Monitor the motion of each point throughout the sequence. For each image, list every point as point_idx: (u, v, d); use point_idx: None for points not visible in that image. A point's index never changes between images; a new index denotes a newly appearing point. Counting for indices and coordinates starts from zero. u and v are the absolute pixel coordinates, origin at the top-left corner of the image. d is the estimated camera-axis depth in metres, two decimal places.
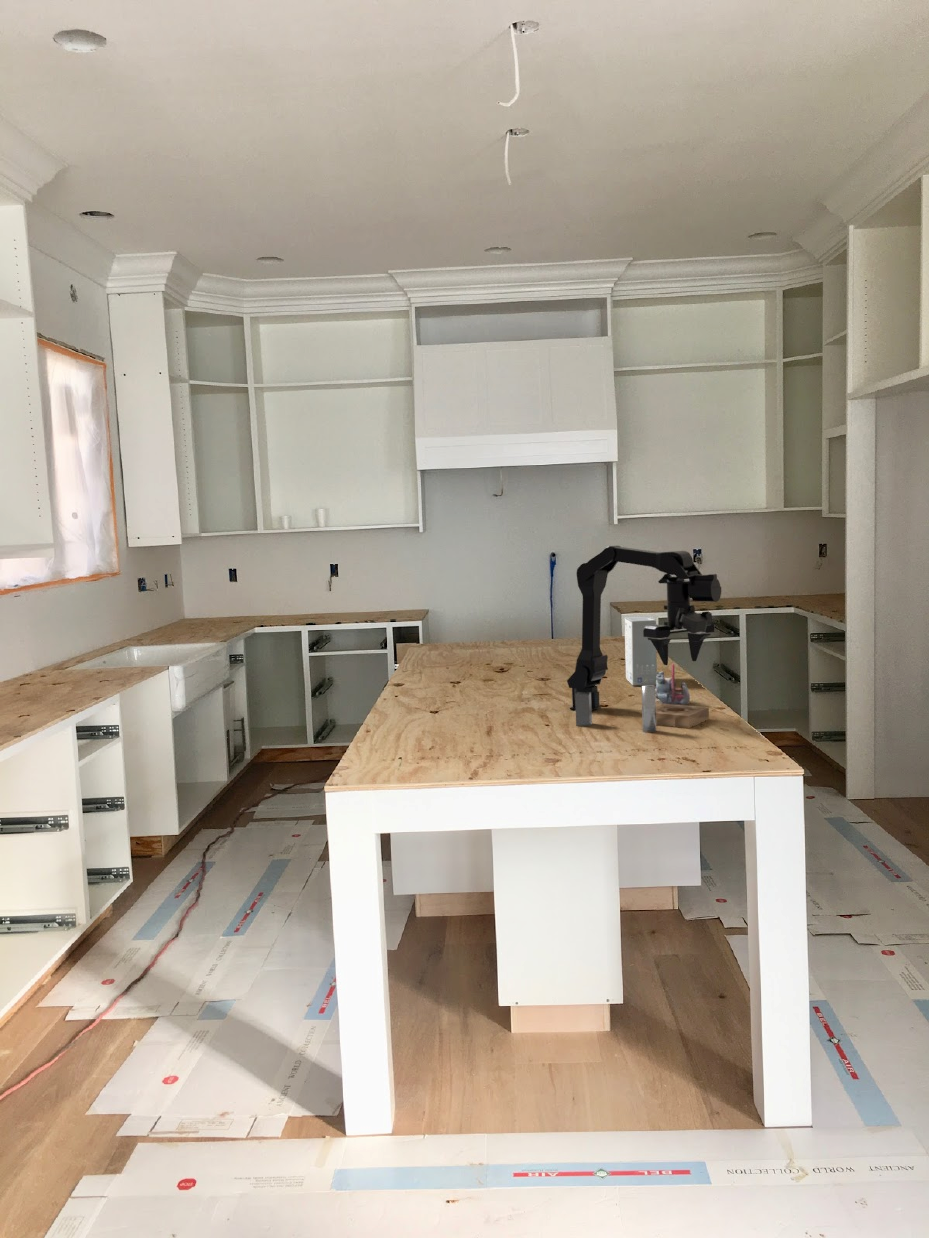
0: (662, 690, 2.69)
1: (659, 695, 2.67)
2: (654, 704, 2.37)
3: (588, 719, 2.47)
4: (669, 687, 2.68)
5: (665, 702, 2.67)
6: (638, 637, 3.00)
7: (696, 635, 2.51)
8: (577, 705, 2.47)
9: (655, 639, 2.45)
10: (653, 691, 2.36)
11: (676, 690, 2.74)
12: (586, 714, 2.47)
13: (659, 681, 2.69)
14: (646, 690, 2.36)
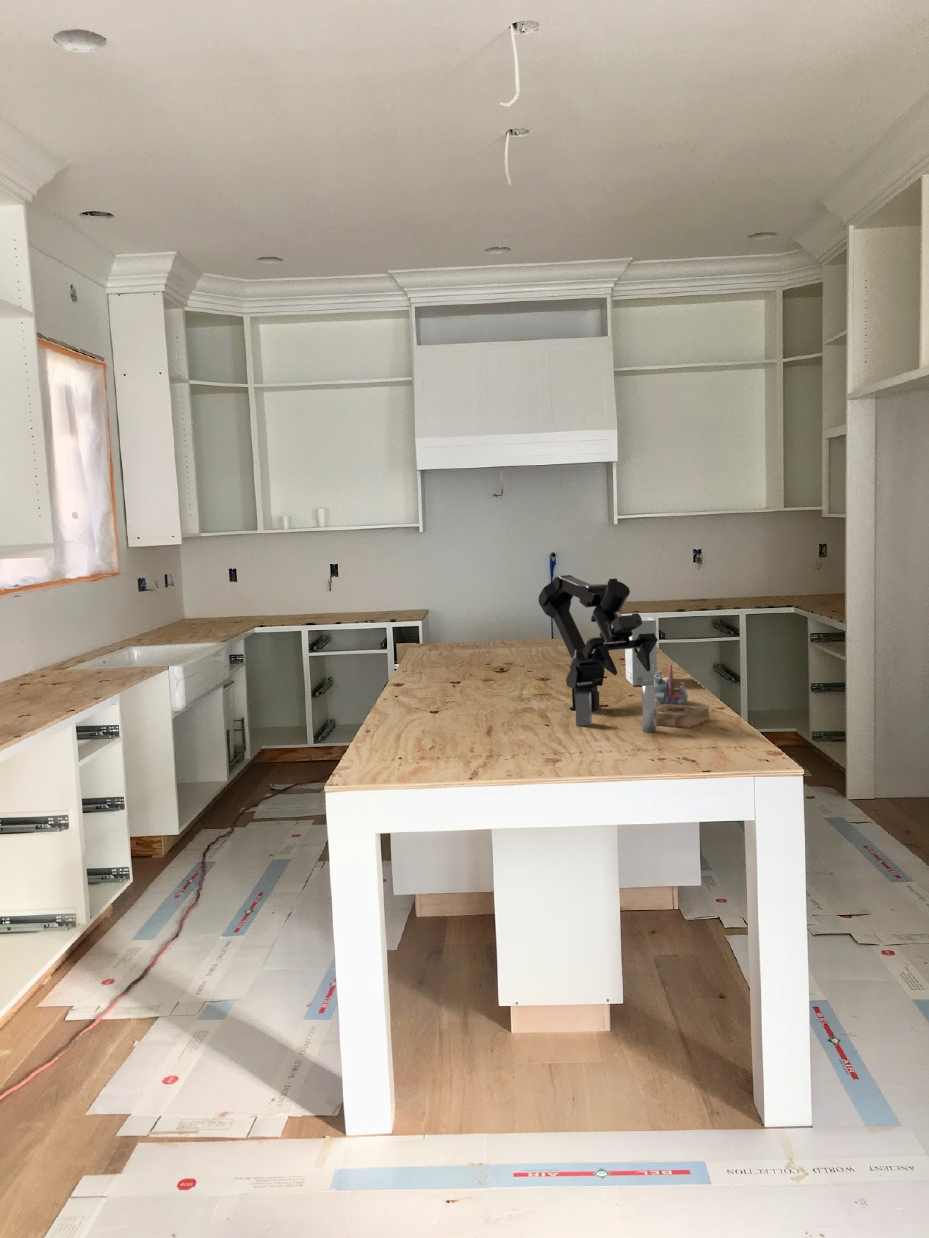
0: (659, 689, 2.70)
1: (656, 695, 2.68)
2: (654, 704, 2.37)
3: (588, 719, 2.47)
4: (666, 687, 2.69)
5: (662, 702, 2.68)
6: None
7: (641, 648, 2.49)
8: (577, 705, 2.47)
9: (594, 652, 2.45)
10: (653, 691, 2.36)
11: (674, 690, 2.75)
12: (586, 714, 2.47)
13: (656, 681, 2.69)
14: (646, 690, 2.36)
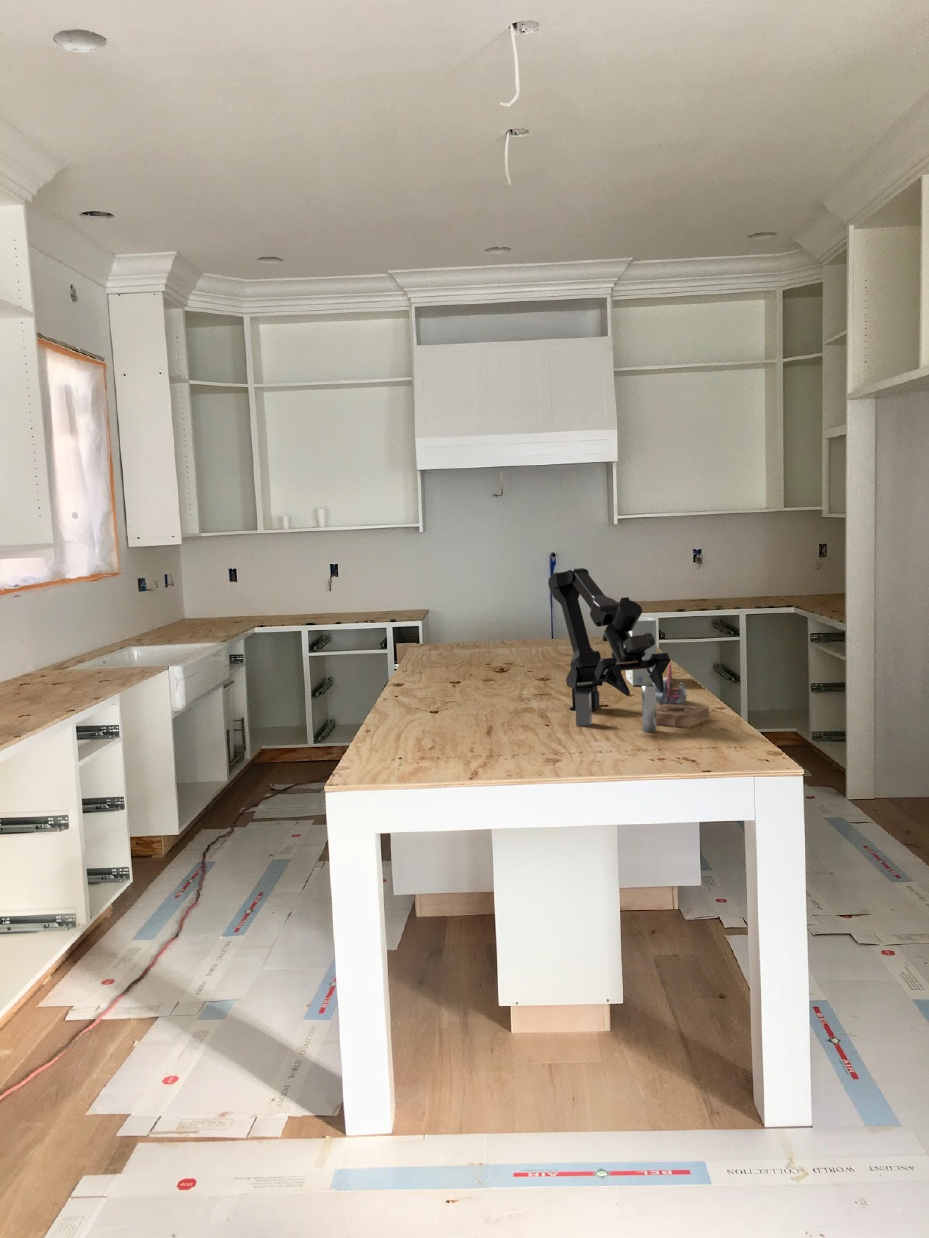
0: None
1: (655, 695, 2.68)
2: (654, 704, 2.37)
3: (588, 719, 2.47)
4: (665, 687, 2.69)
5: (661, 702, 2.68)
6: None
7: (654, 668, 2.44)
8: (577, 705, 2.47)
9: (606, 673, 2.40)
10: (653, 691, 2.36)
11: (674, 690, 2.75)
12: (586, 714, 2.47)
13: None
14: (646, 690, 2.36)
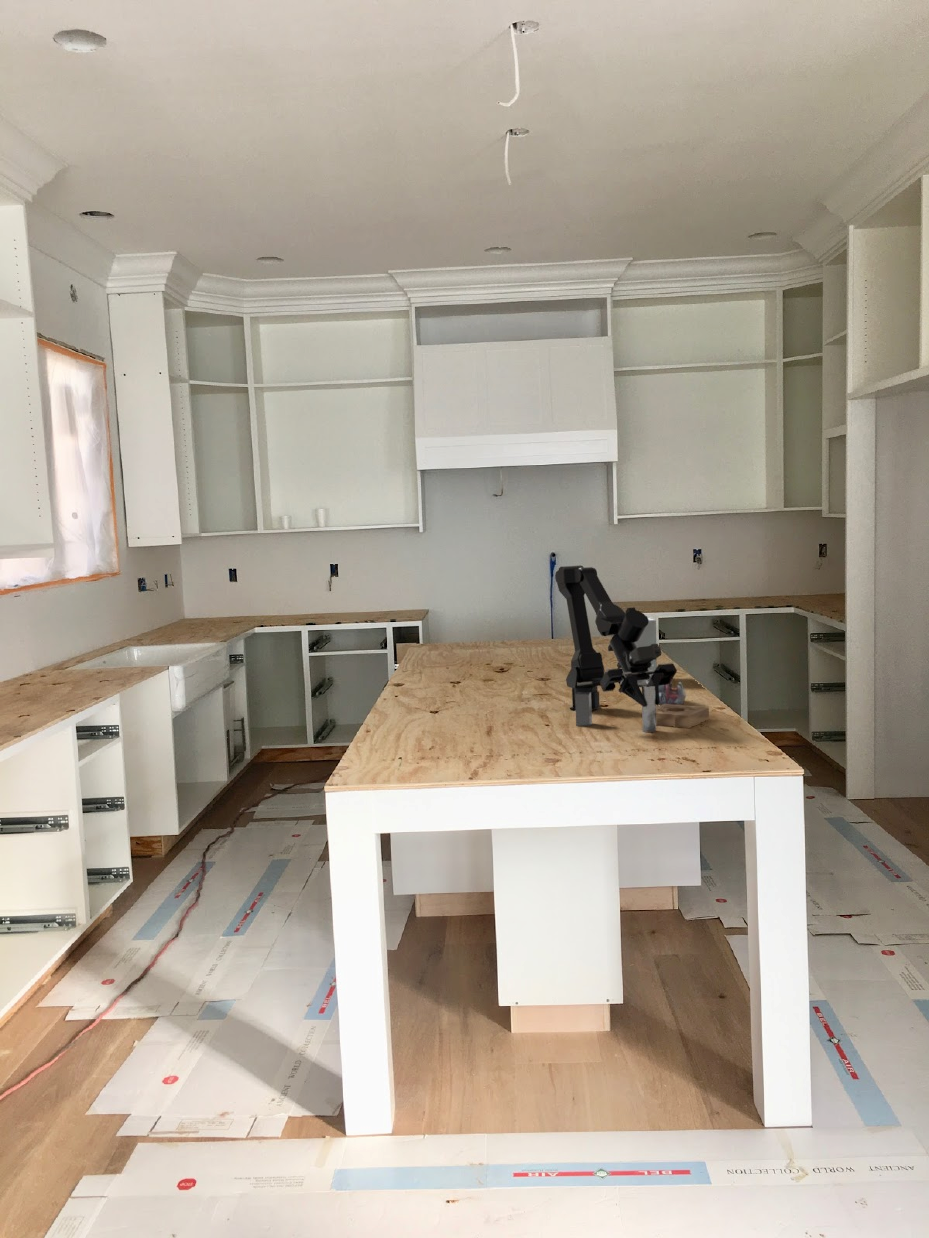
0: None
1: None
2: (654, 704, 2.37)
3: (588, 719, 2.47)
4: (664, 687, 2.69)
5: None
6: None
7: (650, 681, 2.41)
8: (577, 705, 2.47)
9: (622, 683, 2.38)
10: (653, 691, 2.36)
11: (673, 690, 2.75)
12: (586, 714, 2.47)
13: None
14: (646, 690, 2.36)
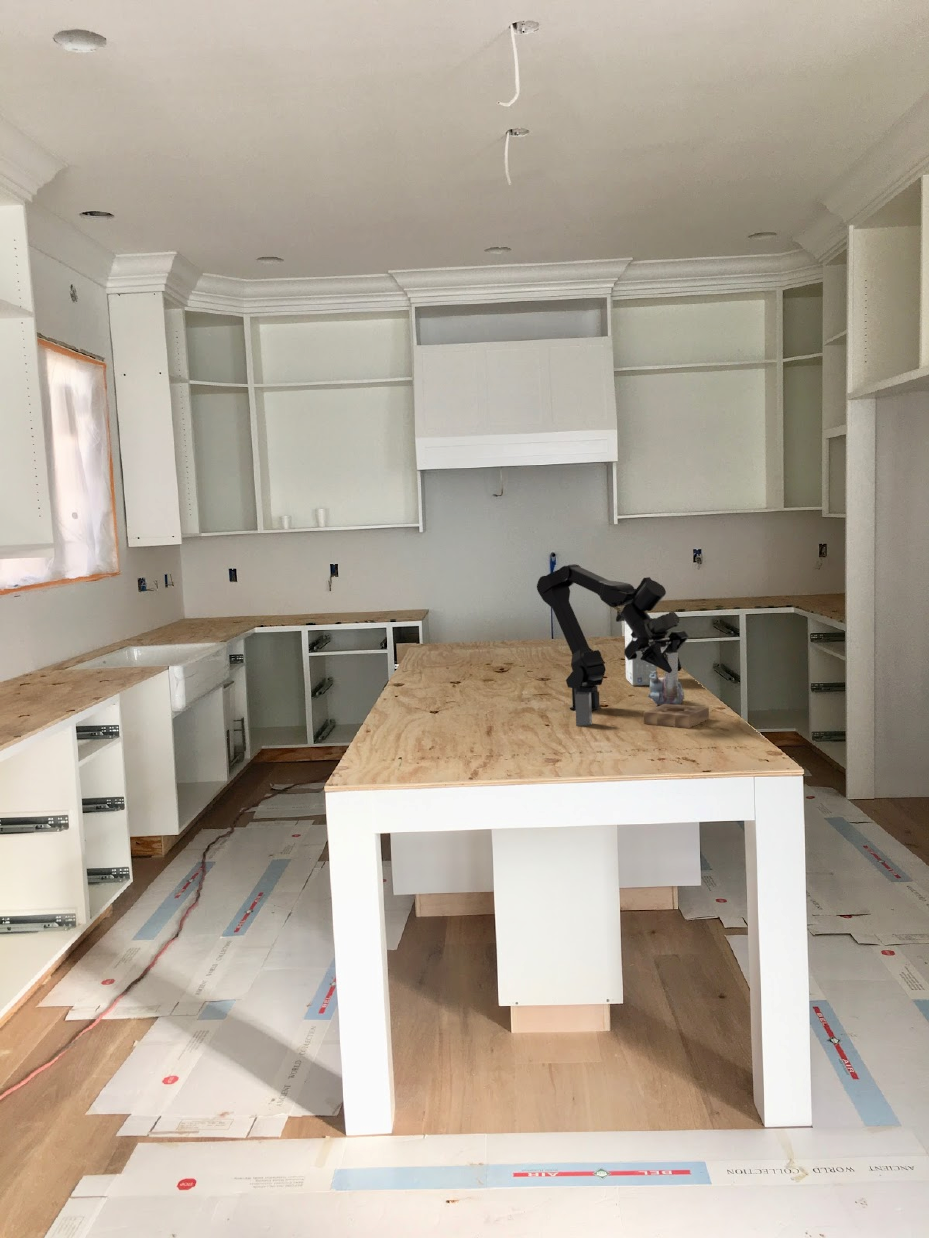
0: (655, 689, 2.70)
1: (651, 694, 2.69)
2: (677, 670, 2.44)
3: (588, 719, 2.47)
4: (662, 686, 2.70)
5: (657, 701, 2.69)
6: None
7: (667, 648, 2.48)
8: (577, 705, 2.47)
9: (647, 651, 2.43)
10: (677, 657, 2.43)
11: None
12: (586, 714, 2.47)
13: (652, 680, 2.70)
14: (670, 657, 2.43)
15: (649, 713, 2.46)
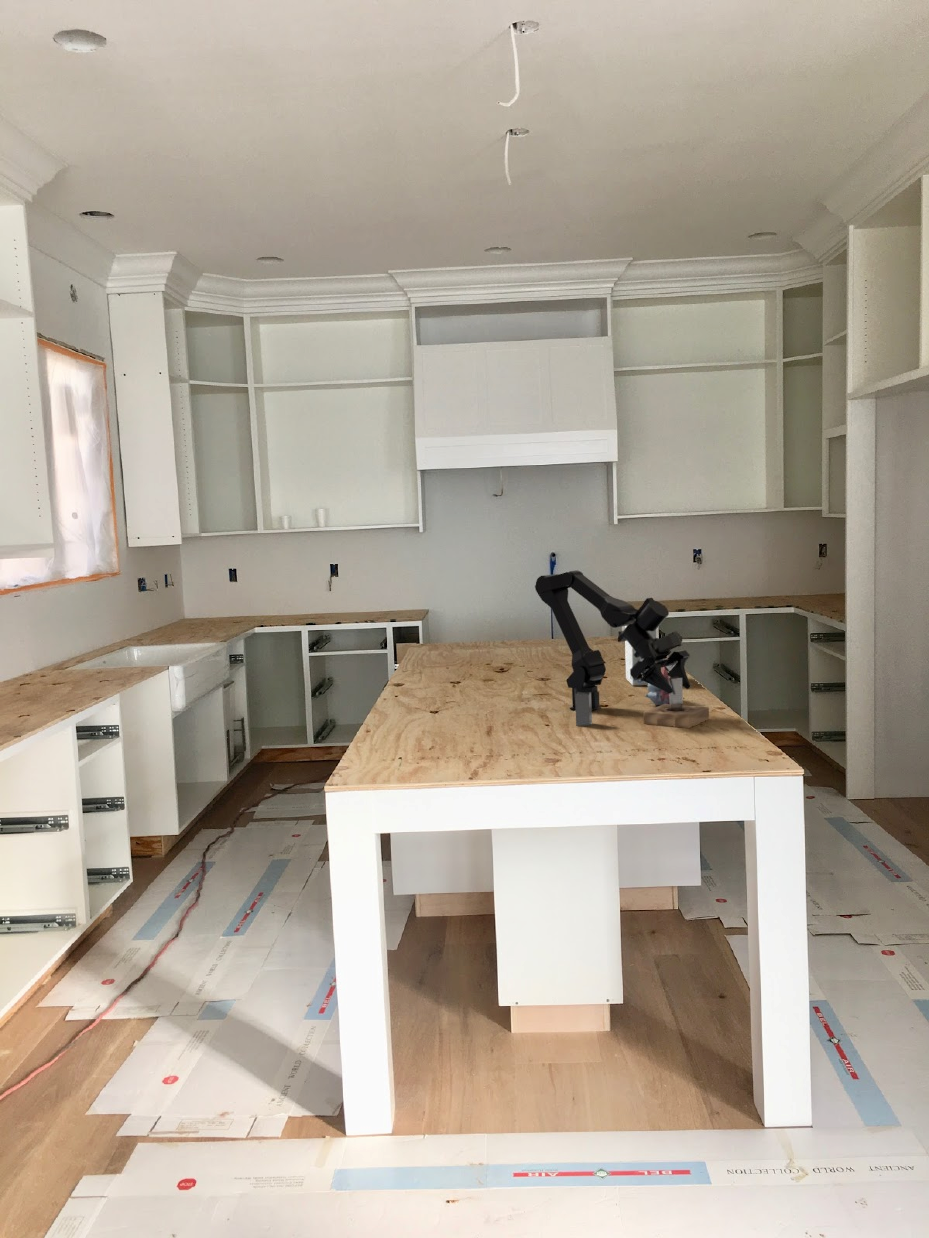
0: (653, 689, 2.71)
1: (649, 694, 2.69)
2: (682, 695, 2.47)
3: (588, 719, 2.47)
4: None
5: (655, 701, 2.69)
6: None
7: (675, 666, 2.52)
8: (577, 705, 2.47)
9: (648, 672, 2.44)
10: (681, 682, 2.46)
11: None
12: (586, 714, 2.47)
13: None
14: (676, 682, 2.45)
15: (649, 713, 2.46)
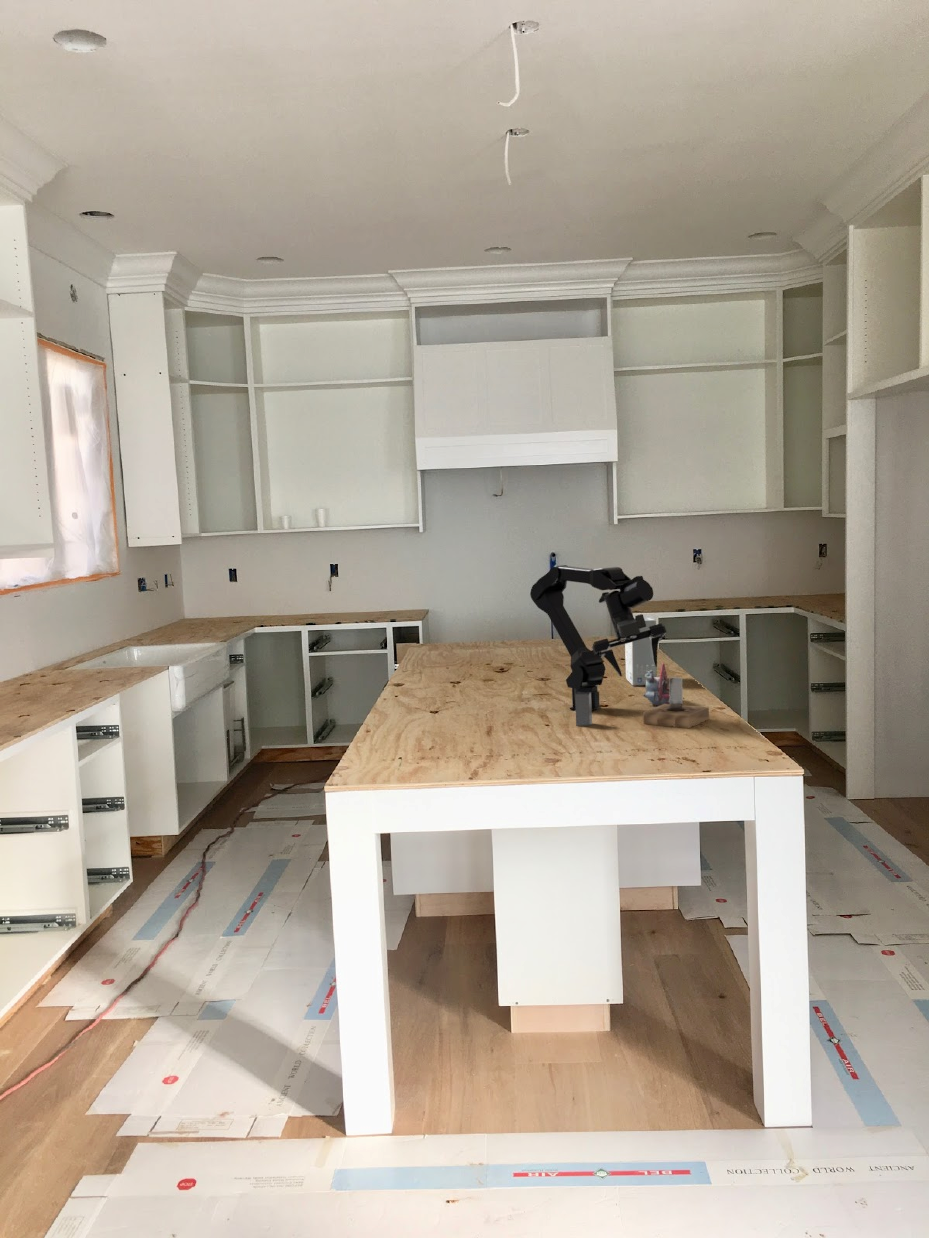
0: (651, 689, 2.72)
1: (647, 694, 2.70)
2: (682, 695, 2.47)
3: (588, 719, 2.47)
4: (658, 686, 2.71)
5: (653, 701, 2.70)
6: None
7: (650, 641, 2.53)
8: (577, 705, 2.47)
9: (600, 654, 2.54)
10: (681, 682, 2.46)
11: (668, 689, 2.76)
12: (586, 714, 2.47)
13: (648, 680, 2.71)
14: (676, 682, 2.45)
15: (649, 713, 2.46)
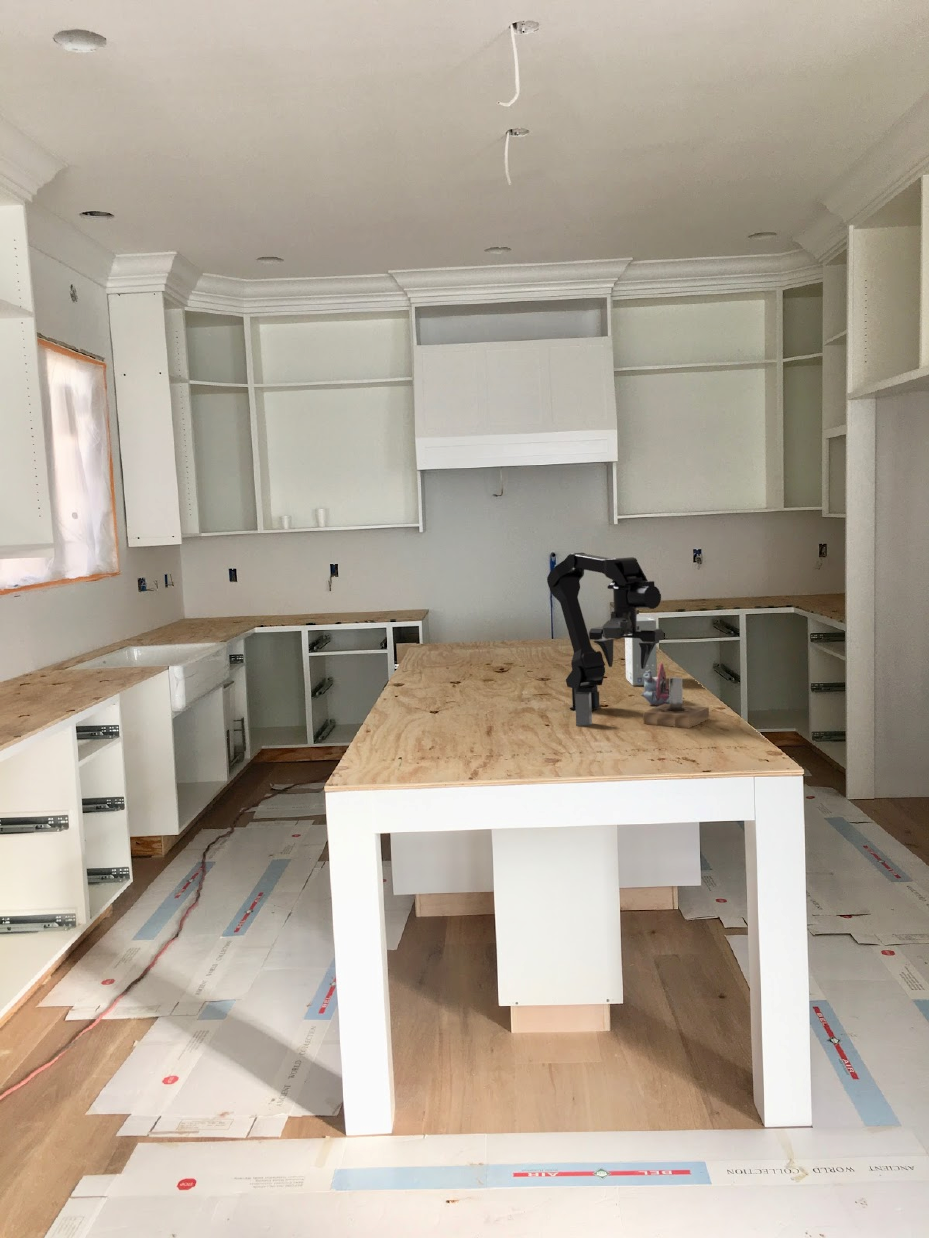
0: (649, 688, 2.72)
1: (645, 693, 2.70)
2: (682, 695, 2.47)
3: (588, 719, 2.47)
4: (656, 686, 2.71)
5: (651, 701, 2.70)
6: None
7: None
8: (577, 705, 2.47)
9: None
10: (681, 682, 2.46)
11: (667, 689, 2.76)
12: (586, 714, 2.47)
13: (646, 680, 2.72)
14: (676, 682, 2.45)
15: (649, 713, 2.46)
